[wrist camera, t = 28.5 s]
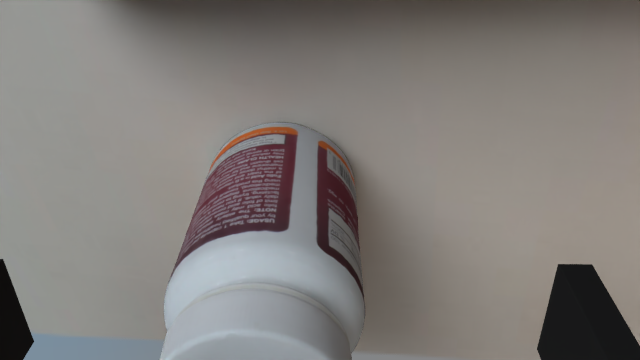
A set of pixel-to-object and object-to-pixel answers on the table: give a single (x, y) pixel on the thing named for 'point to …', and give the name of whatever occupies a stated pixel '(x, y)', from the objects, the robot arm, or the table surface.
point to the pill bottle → (270, 254)
